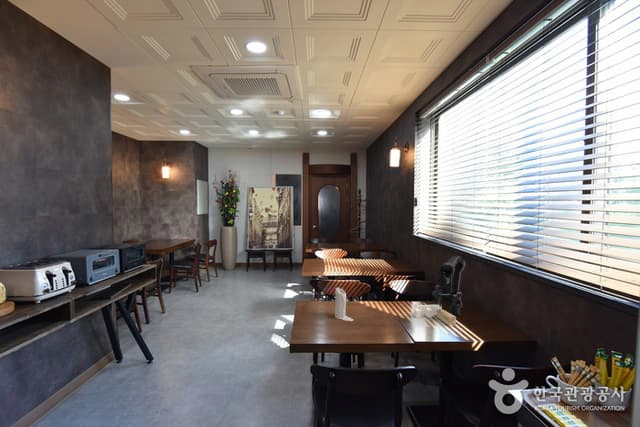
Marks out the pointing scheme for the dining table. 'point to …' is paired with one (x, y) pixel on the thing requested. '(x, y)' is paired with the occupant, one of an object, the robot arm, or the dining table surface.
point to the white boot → (341, 305)
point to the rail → (446, 317)
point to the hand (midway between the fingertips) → (446, 306)
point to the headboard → (425, 310)
